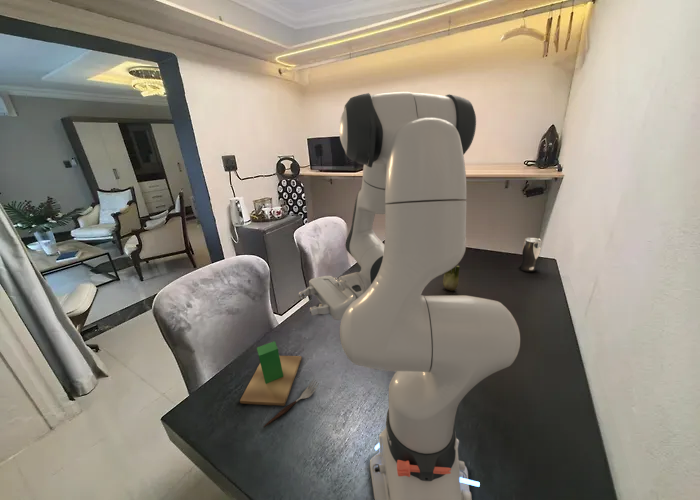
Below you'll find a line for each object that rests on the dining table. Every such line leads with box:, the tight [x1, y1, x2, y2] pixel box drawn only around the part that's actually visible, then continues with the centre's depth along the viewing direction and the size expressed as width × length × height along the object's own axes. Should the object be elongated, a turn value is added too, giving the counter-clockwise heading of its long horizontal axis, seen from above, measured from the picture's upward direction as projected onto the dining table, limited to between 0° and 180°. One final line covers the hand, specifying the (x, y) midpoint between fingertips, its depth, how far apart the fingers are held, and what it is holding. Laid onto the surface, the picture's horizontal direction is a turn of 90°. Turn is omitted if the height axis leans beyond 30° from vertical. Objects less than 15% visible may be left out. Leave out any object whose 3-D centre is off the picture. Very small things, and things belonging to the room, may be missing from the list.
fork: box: [263, 378, 320, 428], centre depth 66 cm, size 3×16×2 cm, turn 135°
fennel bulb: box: [442, 265, 461, 292], centre depth 111 cm, size 6×5×12 cm
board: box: [239, 355, 303, 407], centre depth 75 cm, size 16×12×1 cm
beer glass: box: [519, 237, 543, 273], centre depth 123 cm, size 7×7×15 cm
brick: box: [256, 340, 283, 384], centre depth 73 cm, size 5×4×10 cm
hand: (304, 303), depth 72 cm, fingers open, 8 cm apart
